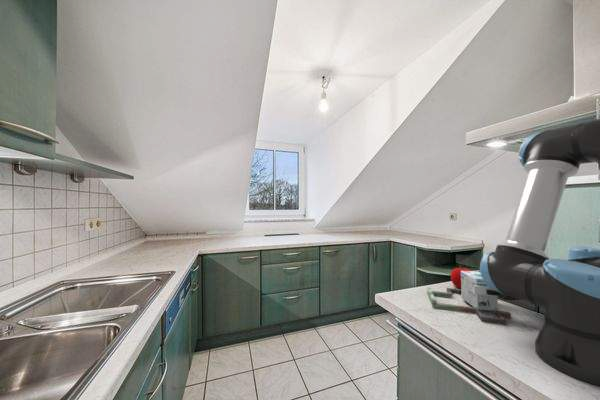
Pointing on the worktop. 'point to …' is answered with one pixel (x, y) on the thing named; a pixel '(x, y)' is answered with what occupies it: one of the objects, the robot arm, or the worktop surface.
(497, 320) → the trap lane
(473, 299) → the light bulb box
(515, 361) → the worktop surface
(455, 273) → the fruit
